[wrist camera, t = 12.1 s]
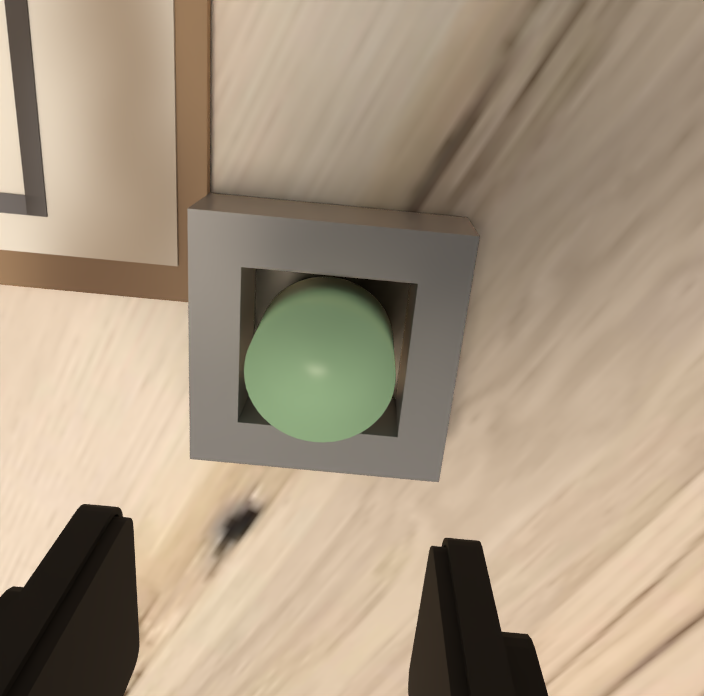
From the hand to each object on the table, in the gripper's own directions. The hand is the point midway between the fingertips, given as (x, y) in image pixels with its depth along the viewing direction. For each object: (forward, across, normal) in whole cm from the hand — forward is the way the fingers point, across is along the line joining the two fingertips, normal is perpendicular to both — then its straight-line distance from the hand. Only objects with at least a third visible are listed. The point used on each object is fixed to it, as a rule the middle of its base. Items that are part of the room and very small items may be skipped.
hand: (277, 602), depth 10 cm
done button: (+11, 0, 0) cm, 11 cm away
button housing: (+12, 0, 0) cm, 12 cm away
